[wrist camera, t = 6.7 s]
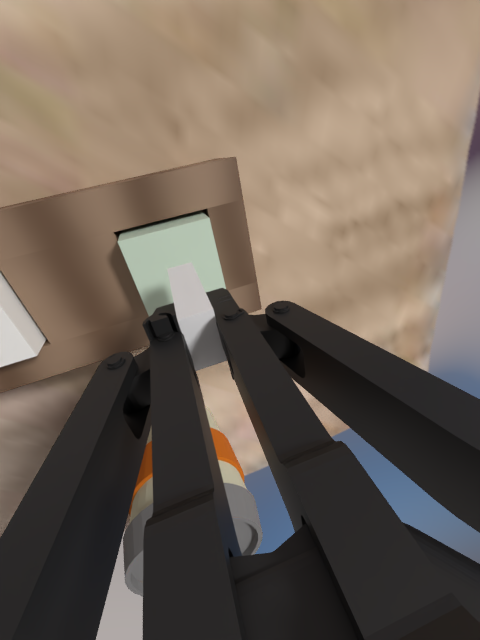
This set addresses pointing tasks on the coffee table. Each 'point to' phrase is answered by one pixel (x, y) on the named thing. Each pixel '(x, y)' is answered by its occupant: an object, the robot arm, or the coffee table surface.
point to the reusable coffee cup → (143, 507)
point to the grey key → (16, 328)
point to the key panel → (111, 260)
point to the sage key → (170, 255)
